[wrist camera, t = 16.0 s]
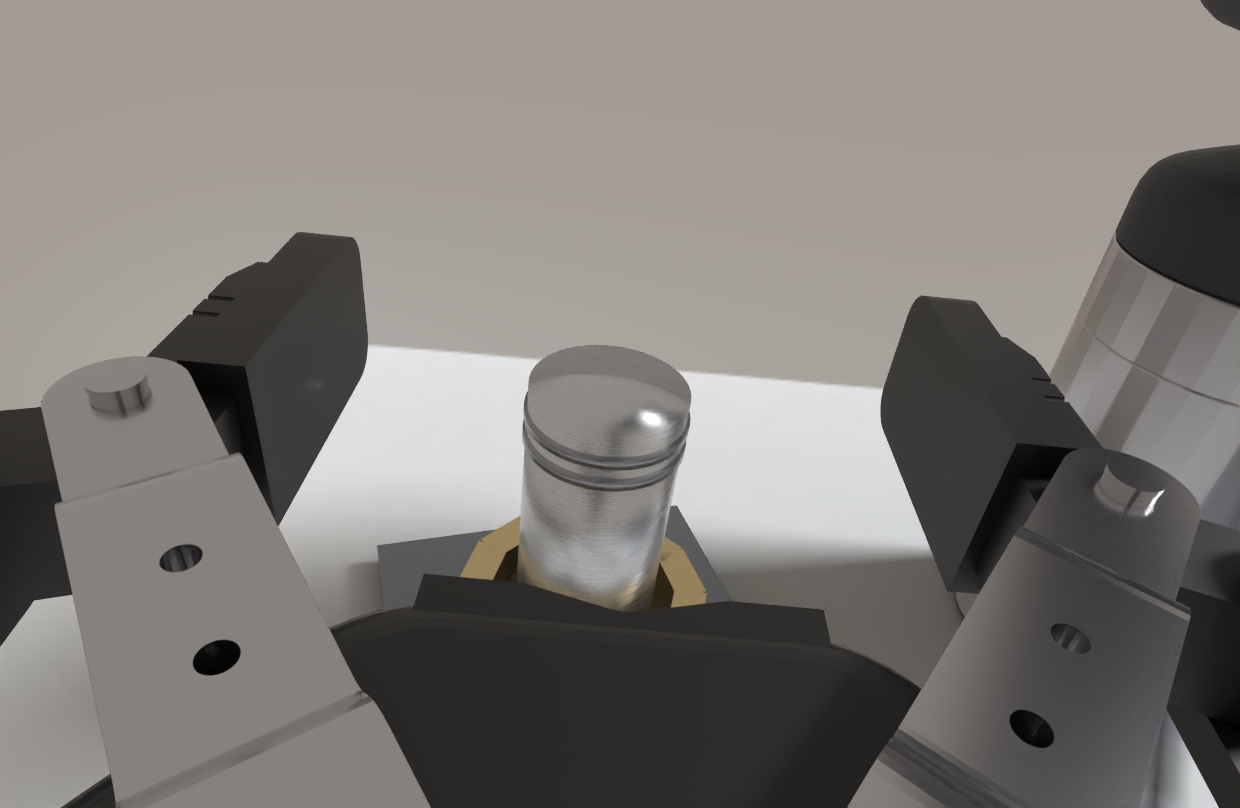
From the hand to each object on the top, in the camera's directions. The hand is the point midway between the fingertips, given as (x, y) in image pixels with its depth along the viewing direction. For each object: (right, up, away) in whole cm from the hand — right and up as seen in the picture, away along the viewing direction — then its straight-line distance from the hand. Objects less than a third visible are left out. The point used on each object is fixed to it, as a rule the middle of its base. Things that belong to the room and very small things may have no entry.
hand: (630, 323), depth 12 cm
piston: (-2, -11, +20) cm, 22 cm away
